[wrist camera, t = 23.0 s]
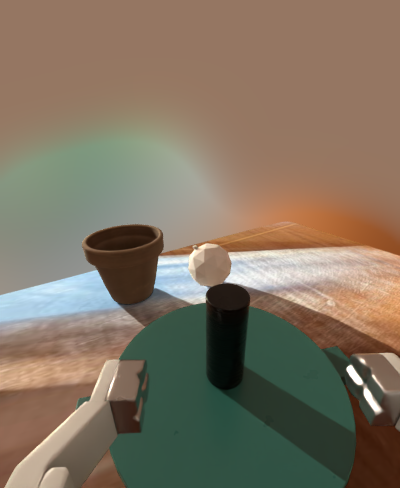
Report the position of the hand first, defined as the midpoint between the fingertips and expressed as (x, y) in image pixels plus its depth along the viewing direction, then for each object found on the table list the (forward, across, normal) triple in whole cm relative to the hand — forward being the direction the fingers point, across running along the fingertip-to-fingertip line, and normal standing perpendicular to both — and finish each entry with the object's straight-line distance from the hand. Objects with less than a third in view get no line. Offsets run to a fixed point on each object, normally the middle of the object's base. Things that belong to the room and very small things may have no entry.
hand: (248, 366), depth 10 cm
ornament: (+29, 0, +15) cm, 32 cm away
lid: (+4, 0, +6) cm, 7 cm away
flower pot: (+26, +13, +15) cm, 32 cm away
